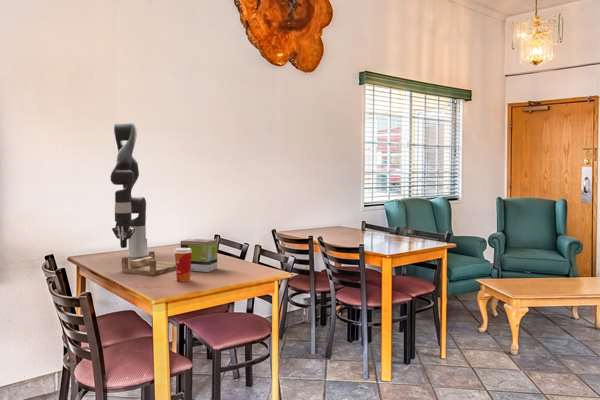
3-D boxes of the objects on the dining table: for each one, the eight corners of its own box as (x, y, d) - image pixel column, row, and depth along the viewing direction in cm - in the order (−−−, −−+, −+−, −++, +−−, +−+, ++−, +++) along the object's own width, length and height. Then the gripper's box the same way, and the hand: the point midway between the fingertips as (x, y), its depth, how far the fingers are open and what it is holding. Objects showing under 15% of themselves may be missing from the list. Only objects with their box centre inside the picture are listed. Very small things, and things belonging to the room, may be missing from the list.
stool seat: (151, 264, 246) (151, 251, 246) (181, 267, 238) (181, 253, 238) (122, 272, 228) (121, 257, 228) (153, 276, 220) (152, 260, 220)
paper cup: (176, 278, 215) (175, 247, 214) (193, 278, 216) (193, 247, 215) (172, 282, 207) (172, 250, 206) (191, 282, 208) (190, 250, 207)
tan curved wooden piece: (152, 262, 242) (152, 254, 242) (156, 262, 241) (156, 255, 241) (130, 267, 228) (130, 259, 228) (134, 268, 227) (134, 260, 227)
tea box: (218, 268, 237) (217, 238, 236) (207, 272, 228) (207, 241, 227) (191, 266, 242) (191, 237, 241) (180, 270, 233) (179, 240, 232)
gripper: (139, 211, 232) (139, 247, 232) (118, 210, 237) (119, 245, 238) (127, 212, 225) (128, 249, 226) (106, 211, 230) (107, 247, 231)
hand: (123, 247), depth 232 cm, fingers closed
